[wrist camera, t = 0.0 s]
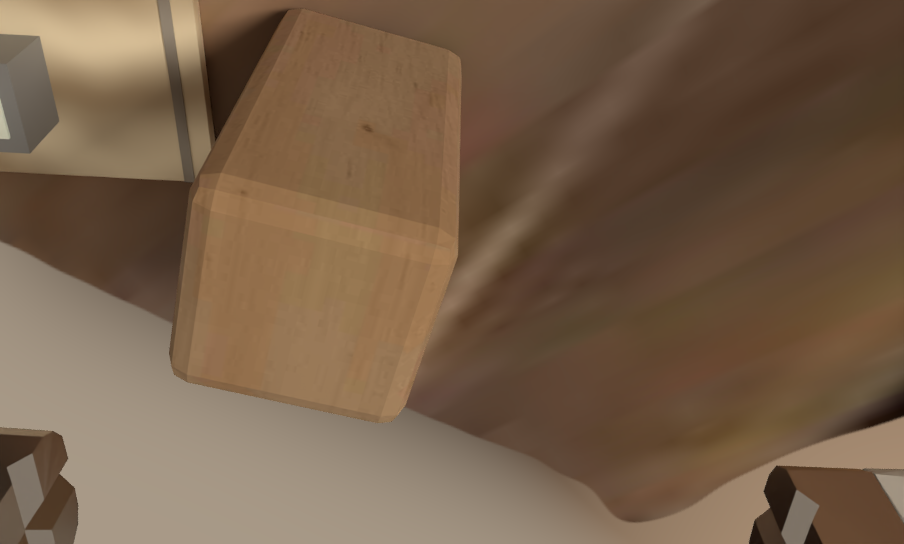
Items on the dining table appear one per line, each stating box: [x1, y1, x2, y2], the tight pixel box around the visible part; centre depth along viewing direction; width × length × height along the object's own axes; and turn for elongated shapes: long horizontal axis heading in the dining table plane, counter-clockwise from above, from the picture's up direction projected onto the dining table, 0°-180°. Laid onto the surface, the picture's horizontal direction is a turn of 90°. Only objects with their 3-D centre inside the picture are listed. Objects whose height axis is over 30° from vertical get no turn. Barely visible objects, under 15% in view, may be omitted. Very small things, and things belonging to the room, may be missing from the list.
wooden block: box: [169, 8, 462, 423], centre depth 41 cm, size 10×10×20 cm
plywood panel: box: [0, 0, 215, 182], centre depth 48 cm, size 12×16×1 cm
